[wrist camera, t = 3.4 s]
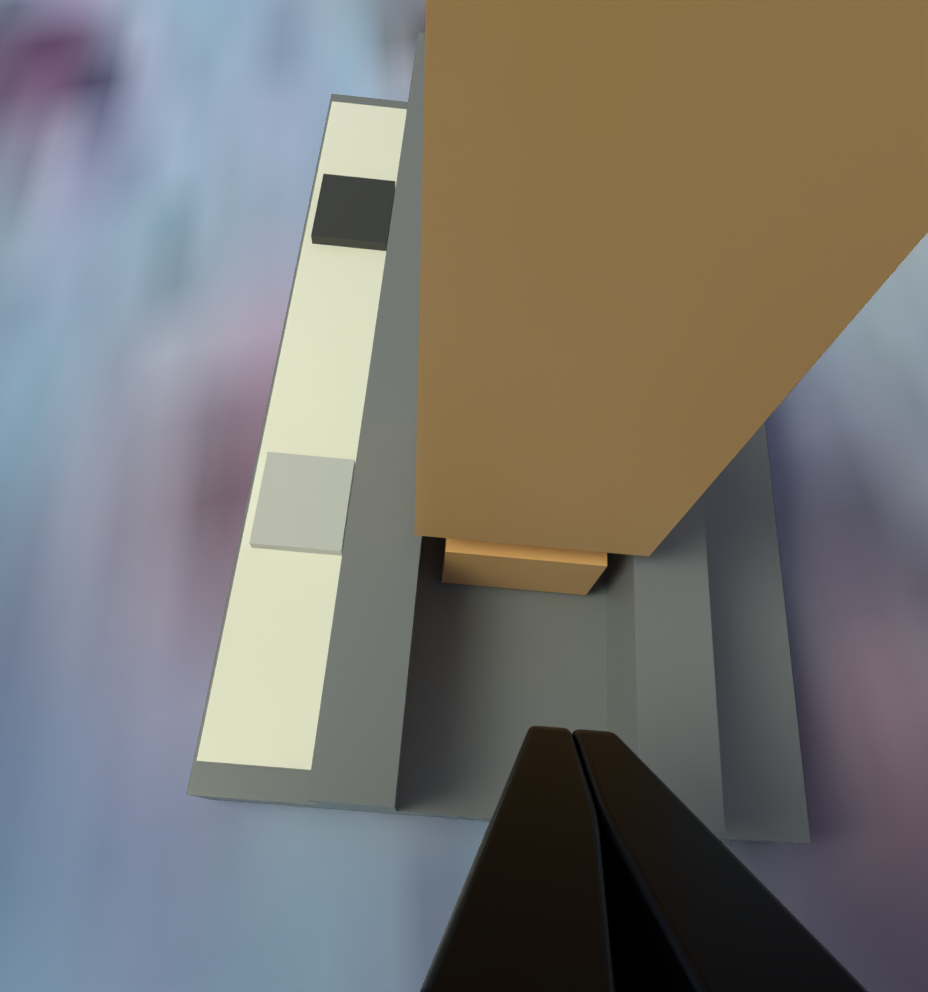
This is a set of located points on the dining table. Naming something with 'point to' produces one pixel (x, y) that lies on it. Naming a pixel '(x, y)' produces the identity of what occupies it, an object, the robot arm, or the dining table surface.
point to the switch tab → (641, 253)
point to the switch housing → (457, 607)
